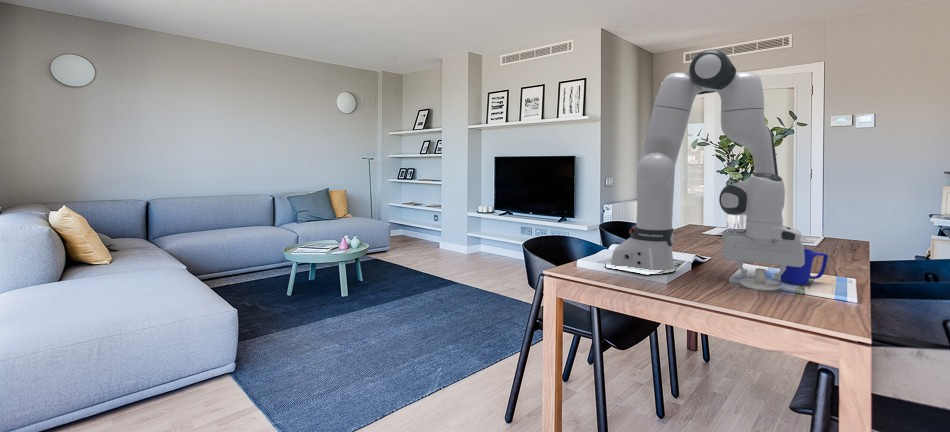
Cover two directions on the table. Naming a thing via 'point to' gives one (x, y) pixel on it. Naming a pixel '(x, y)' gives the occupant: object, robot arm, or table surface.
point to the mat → (759, 290)
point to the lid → (760, 282)
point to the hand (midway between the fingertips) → (760, 277)
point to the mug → (803, 270)
